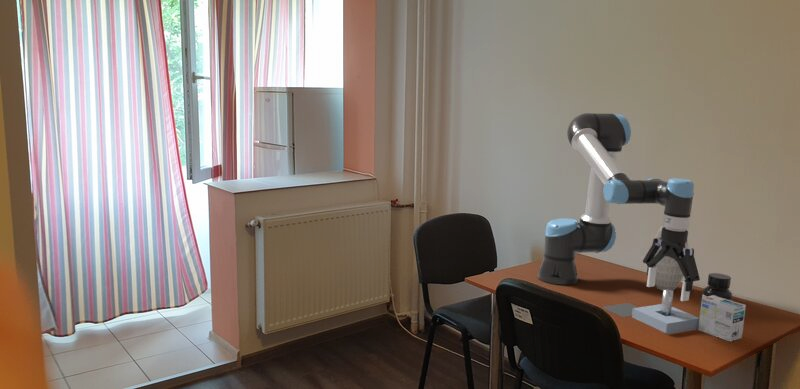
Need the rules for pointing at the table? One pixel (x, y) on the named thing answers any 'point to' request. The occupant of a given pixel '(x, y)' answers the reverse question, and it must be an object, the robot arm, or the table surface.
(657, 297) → the table surface
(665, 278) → the vase
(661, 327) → the socket block
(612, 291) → the table surface
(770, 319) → the table surface
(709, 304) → the light bulb box
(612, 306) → the mat
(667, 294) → the pin
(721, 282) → the ink bottle
